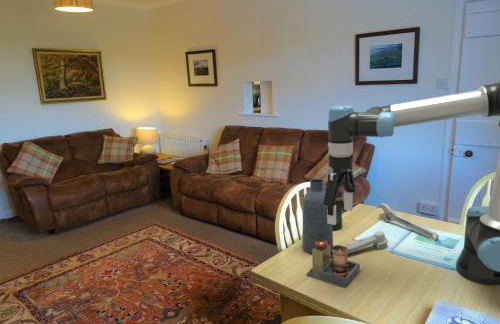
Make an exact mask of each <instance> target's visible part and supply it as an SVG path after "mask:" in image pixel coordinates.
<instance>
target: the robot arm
mask: <svg viewBox="0 0 500 324" xmlns="http://www.w3.org/2000/svg"><path fill="white" fill-rule="evenodd" d="M477 115H478V116H482V117H484V118H488V117H489V118H490V117H500V81H498V82H495V83H490V84H485V85H484V84H483V85H481V86H480V87H479V88H477V89H475V90H470V91H469V90H468V91H463V92H458V93H453V94H447V95H446V94H445V95H440V96H435V97H428V98H423V99H418V100H417V99H416V100H411V101H405V102H399V103H395V104H394V103H393V104H389V105H384V106H377V105H376V106H372V107H370V108H368V109H367V110H366V111H362V112H357V111H354V107H353V106H352V105H335V106H334V105H333V106H330V108H329V110H328V121H327V125H328V132H327V133H328V143H327V147H328V154H329V155H328V167H329V168H331V169H332V173H328V174H327V182H326V186H327V187H326V186H325V187H326V193H325V198H324V203H323V204H324V205H327V223H328V224H332V225H336V205H335V202H336V198H337V195H338V192H339V190H340V188H341V187H342V186H343V187H344V188H343V189H344V190H345V191H344V192H343V193H344V194H343V197H344V198H343V199H344V200H343V201H344V202H343V210H345V211H349V212H352V211H353V194H354V193H355V192H356V182H355V179H354V174H353V173H354V172H353V162H354V160H353V159H354V158H353V157H354V156H353V155H352V154H353V153H354V142H353V141H354V138H353V137H362V138H363V137H367V138H368V137H374V138H375V137H376V138H384V137H386V138H387V137H393V136H394V133H395V128H398V127H405V126H412V125H418V124H424V123H431V122H438V121H445V120H447V121H448V120H453V119H459V118H466V117H474V116H477ZM498 122H499V123H498V129H499V130H500V120H499V121H498ZM465 217H466V219H465V228H464V229H465V230H464V242H463V248H462V250H461V251H460V254H459V255H458V258H457V259H456V263H455V264H456V265H455V269H456V271H457V273H458V274H460V276H462V277H464V278H465V279H468V280H470V281H472V282H476V283H477V284H478V283H479V284H482V285H493V286H495V285H496V286H497V285H500V152H499V154H498V159H497V163H496V168H495V173H494V179H493V183H492V187H491V193H490V198H489V201H488V206H487V205H474V206H470V207H469V208H468V209H467V210H466V215H465Z"/></svg>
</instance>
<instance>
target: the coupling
mask: <svg viewBox="0 0 500 324" xmlns="http://www.w3.org/2000/svg"><path fill="white" fill-rule="evenodd" d="M348 255H349V254H348V248H347V247H345V246H342V245H339V244H338V245H333V247H332V257H331V259H332V274H334V275H337V276H340V277H345V276H347V275H348V269H347V260H348Z"/></svg>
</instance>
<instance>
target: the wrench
mask: <svg viewBox="0 0 500 324" xmlns="http://www.w3.org/2000/svg"><path fill="white" fill-rule="evenodd" d="M376 208H378V209H382V210H383V213H379V214H378V216H379V217H380V218H381V219H382V220H384V221H385V223H388V224H389V223H391V222H396V223H397V224H400V225H402V226H404V227H406V228H408V229H409V230H411V231H414V232H416V233H418V234H420V235H421V236H424V237H426V238H428V239H430V240H433V241H437V240H439V239H440V237H439V234H438V233H437V232H435V231H433V230H431V229H429V228H427V227H424V225H423V226H422V225H421V224H418V223H416V222H414V221H413V220H411V219H410V220H409V219H408V218H406V217H403V216H400V215H399V214H398V213H396V212H395V211H394V210H393V209H392V208H391V207H390V206H389V205H388V204H386V203H384V202H383V203H379V204H377V206H376ZM433 235H434V236H435V237H434V236H433Z"/></svg>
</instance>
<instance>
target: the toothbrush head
mask: <svg viewBox="0 0 500 324" xmlns="http://www.w3.org/2000/svg"><path fill="white" fill-rule="evenodd" d="M388 241H389V240H388V237H386V235H385V232H384V231H381V230H379V231H375V232H374V234H373V235H370V236H367V237H363V238H361V239H358V240H355V241H351V242H348V243H346V244H342V245H341V246H345V247H347V248H348V255H349V254H351V253H355V252H357V251H359V250H362V249H364V248H366V247H368V246H371V245H372V246H373V248H375V249H377V250H380V249H382V250H383V249H385V248H387V246H388ZM330 258H332V249H331V250H330Z"/></svg>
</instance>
